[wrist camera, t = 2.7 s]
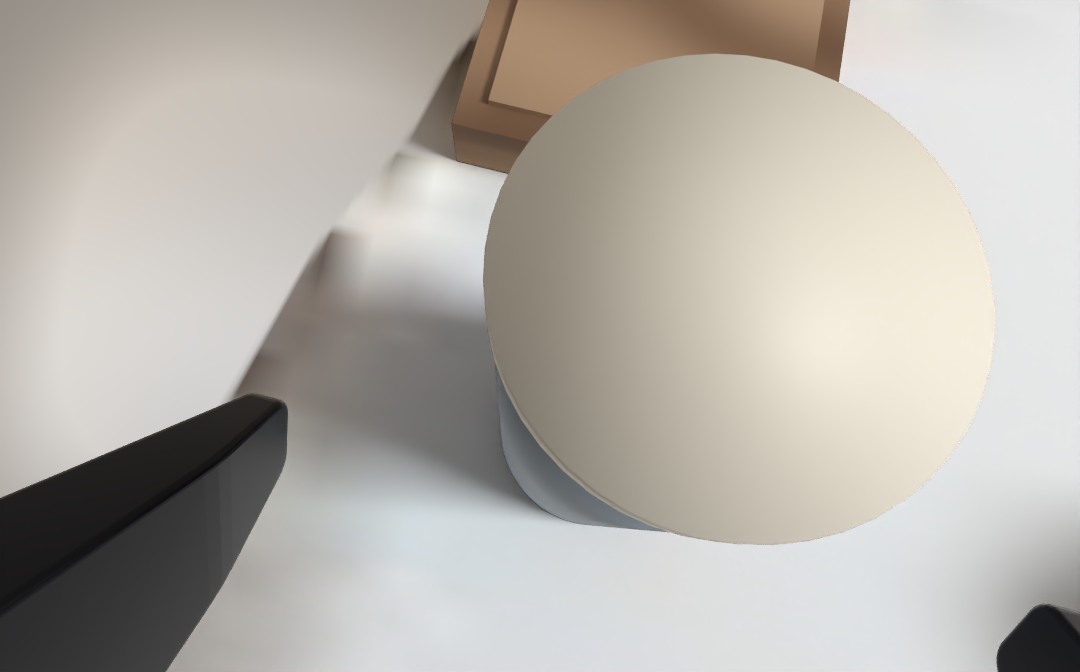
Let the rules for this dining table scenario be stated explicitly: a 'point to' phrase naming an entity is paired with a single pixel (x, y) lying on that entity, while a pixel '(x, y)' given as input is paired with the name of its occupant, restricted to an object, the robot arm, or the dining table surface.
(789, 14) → the stand
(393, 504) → the dining table surface
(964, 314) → the tin
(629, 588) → the dining table surface
